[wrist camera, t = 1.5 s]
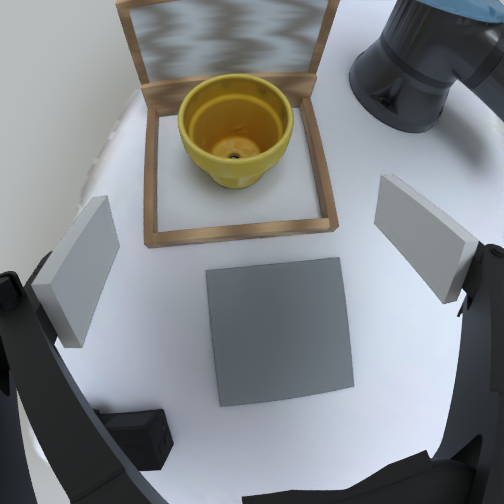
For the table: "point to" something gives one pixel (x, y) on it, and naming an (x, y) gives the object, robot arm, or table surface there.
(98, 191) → the table surface
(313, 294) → the mat
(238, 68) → the cold frame
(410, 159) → the table surface
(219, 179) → the plant pot
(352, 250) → the table surface
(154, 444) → the digital camera
